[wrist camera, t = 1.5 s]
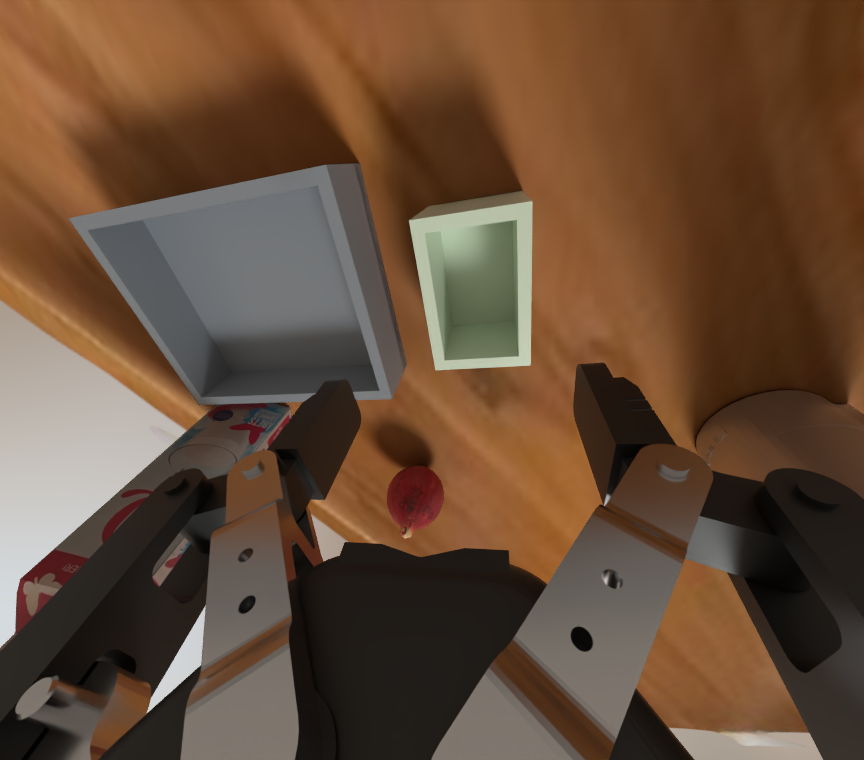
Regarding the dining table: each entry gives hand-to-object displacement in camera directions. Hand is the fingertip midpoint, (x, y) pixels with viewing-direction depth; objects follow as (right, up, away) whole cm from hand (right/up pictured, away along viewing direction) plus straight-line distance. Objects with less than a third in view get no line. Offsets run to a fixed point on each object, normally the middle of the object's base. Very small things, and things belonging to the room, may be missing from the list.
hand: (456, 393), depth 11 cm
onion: (-2, -9, +25) cm, 27 cm away
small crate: (+3, +8, +11) cm, 14 cm away
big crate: (-13, +8, +15) cm, 21 cm away
